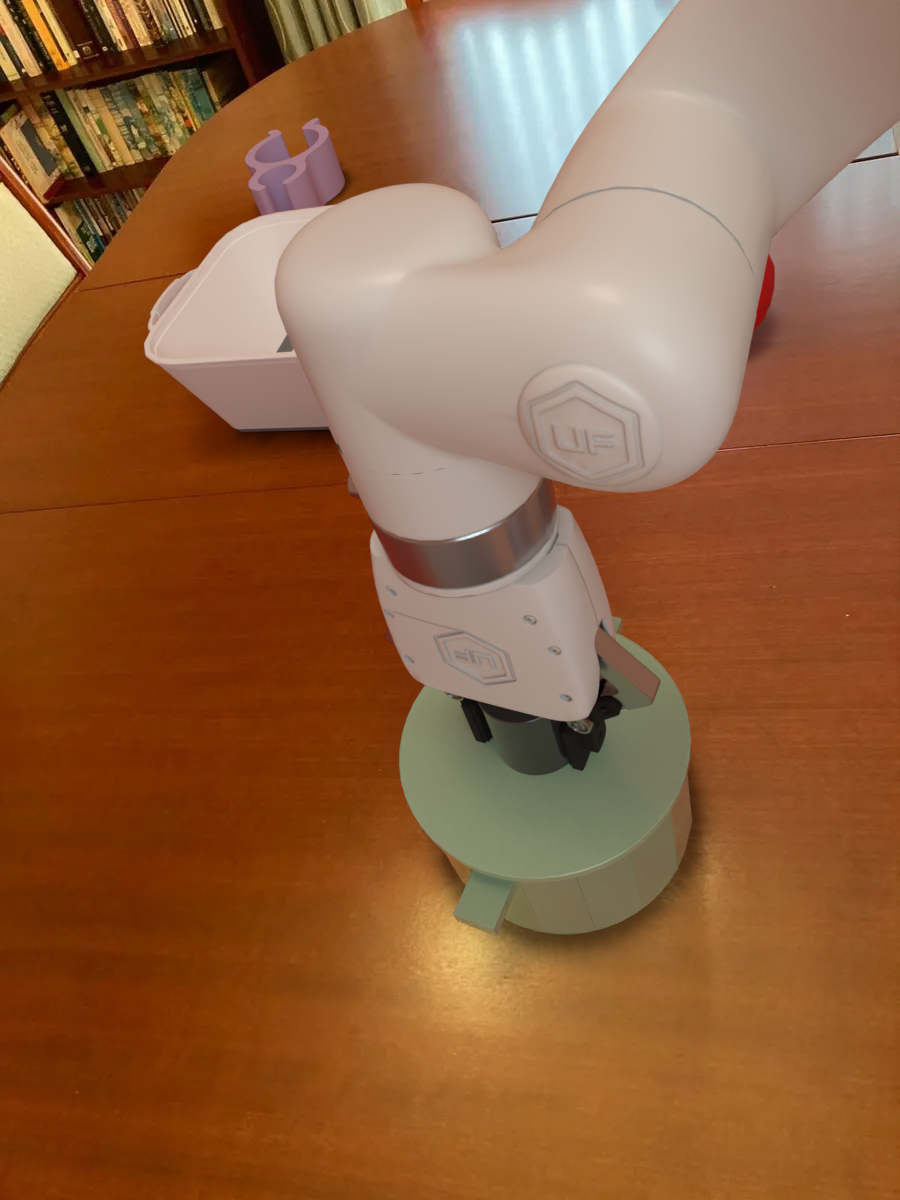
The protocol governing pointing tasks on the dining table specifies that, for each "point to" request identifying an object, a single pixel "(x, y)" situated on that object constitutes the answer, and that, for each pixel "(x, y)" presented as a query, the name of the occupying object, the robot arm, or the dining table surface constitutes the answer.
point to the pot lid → (543, 783)
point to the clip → (294, 172)
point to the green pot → (580, 884)
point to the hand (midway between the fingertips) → (538, 732)
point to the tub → (237, 331)
